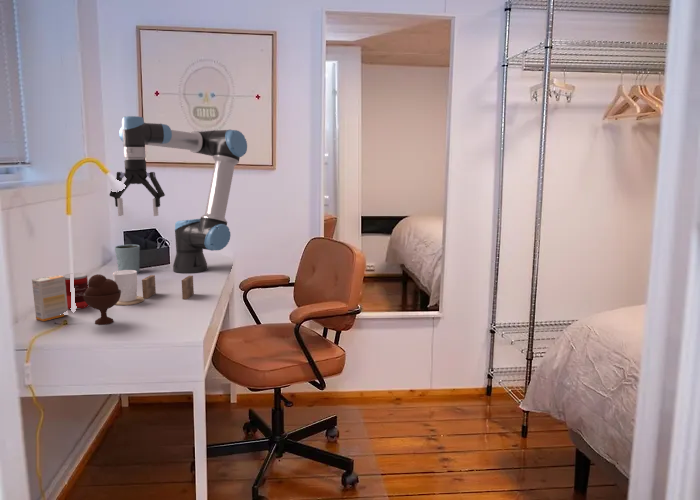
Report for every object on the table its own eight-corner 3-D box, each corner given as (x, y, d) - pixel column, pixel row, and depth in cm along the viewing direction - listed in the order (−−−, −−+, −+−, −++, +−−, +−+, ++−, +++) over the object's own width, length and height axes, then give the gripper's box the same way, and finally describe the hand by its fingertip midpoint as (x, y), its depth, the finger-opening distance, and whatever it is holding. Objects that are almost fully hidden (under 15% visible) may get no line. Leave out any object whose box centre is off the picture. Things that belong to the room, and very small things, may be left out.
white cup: (142, 297, 199) (141, 270, 197) (130, 303, 191) (128, 274, 189) (123, 296, 200) (121, 269, 198) (109, 301, 193) (107, 273, 191)
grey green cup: (144, 270, 249) (142, 244, 247) (136, 275, 239) (134, 248, 237) (121, 270, 249) (119, 244, 247) (112, 275, 239) (111, 248, 237)
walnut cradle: (151, 293, 207) (150, 275, 206) (193, 293, 207) (192, 275, 205) (143, 298, 199) (141, 279, 198) (186, 299, 199) (185, 280, 198)
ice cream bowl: (84, 329, 164) (80, 280, 161) (86, 319, 174) (82, 272, 171) (123, 325, 168) (119, 277, 165) (122, 315, 178) (119, 270, 176)
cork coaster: (119, 297, 201) (119, 295, 201) (148, 297, 201) (148, 296, 201) (104, 305, 190) (104, 303, 190) (135, 305, 190) (135, 303, 190)
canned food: (71, 303, 192) (68, 272, 190) (93, 304, 192) (91, 273, 190) (59, 309, 185) (56, 277, 183) (82, 309, 184) (80, 277, 183)
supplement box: (61, 313, 180) (57, 274, 178) (68, 315, 178) (65, 276, 175) (35, 319, 174) (31, 278, 171) (42, 321, 171) (38, 280, 169)
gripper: (97, 158, 202) (101, 216, 206) (164, 159, 201) (167, 216, 204) (107, 158, 209) (110, 214, 213) (171, 159, 208) (174, 214, 212)
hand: (138, 215), depth 209 cm, fingers open, 13 cm apart
